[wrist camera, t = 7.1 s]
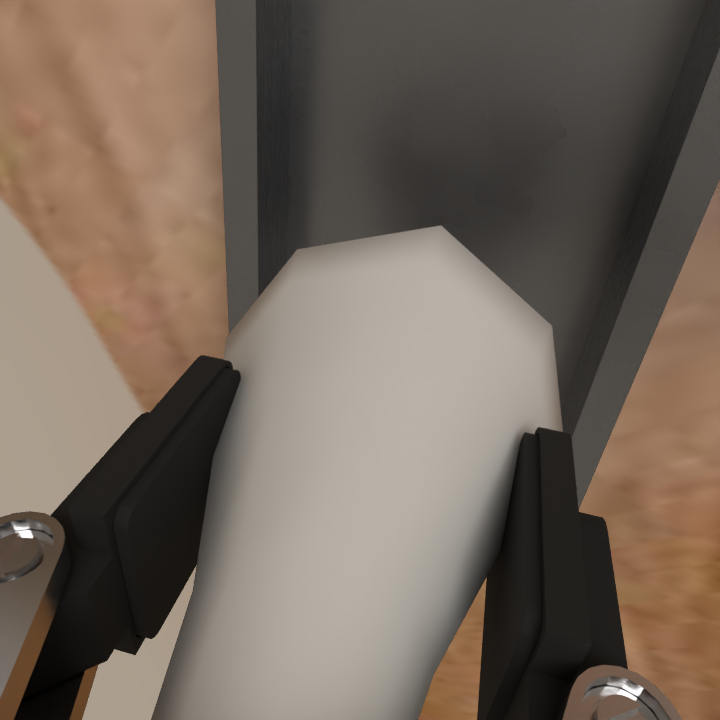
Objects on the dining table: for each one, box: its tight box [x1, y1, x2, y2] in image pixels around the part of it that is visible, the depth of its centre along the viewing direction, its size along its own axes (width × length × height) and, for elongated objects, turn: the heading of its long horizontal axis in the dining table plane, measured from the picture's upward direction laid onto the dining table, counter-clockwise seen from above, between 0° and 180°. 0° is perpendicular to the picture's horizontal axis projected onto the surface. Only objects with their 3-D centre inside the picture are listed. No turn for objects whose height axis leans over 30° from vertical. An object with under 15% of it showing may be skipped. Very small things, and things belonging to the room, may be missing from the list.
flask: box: [151, 226, 563, 720], centre depth 9 cm, size 7×7×10 cm
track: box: [215, 0, 720, 508], centre depth 18 cm, size 20×12×4 cm, turn 175°
